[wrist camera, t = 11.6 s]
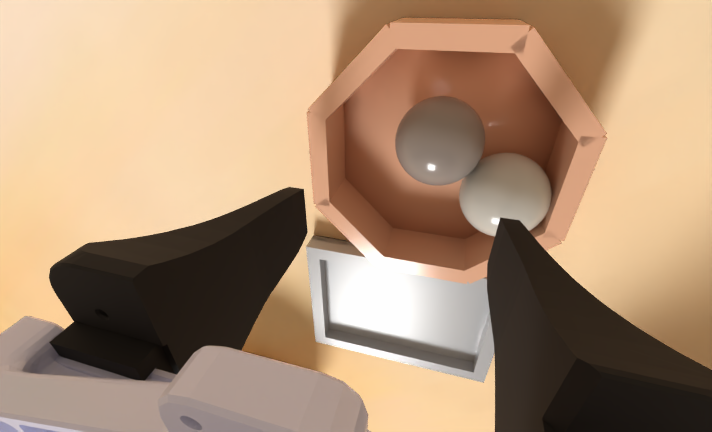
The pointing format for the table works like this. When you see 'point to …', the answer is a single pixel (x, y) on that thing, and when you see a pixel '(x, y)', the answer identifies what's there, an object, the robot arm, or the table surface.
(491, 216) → the pebble grey
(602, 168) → the table surface
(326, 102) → the bowl
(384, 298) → the tray
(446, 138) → the pebble dark
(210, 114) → the table surface
